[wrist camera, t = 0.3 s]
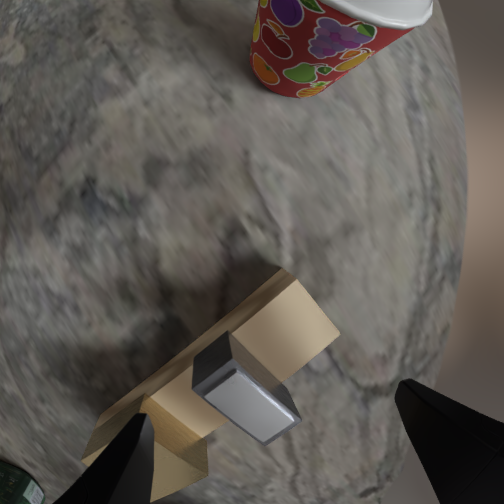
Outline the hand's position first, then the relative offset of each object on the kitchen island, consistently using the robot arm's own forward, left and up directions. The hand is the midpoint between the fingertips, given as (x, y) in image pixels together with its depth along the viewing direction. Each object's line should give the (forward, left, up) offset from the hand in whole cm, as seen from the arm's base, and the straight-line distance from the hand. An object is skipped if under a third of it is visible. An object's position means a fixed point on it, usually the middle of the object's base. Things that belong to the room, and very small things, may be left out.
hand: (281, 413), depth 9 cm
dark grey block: (-3, -3, -10) cm, 11 cm away
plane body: (-7, -3, -15) cm, 16 cm away
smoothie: (+15, +12, -15) cm, 24 cm away
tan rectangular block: (-13, -3, -11) cm, 17 cm away
